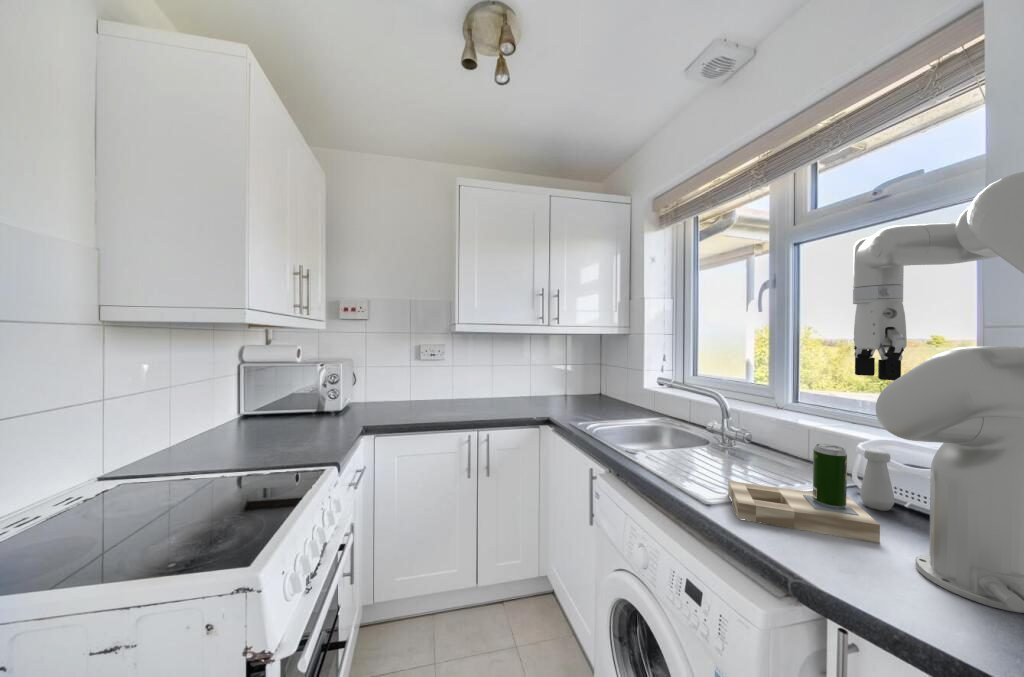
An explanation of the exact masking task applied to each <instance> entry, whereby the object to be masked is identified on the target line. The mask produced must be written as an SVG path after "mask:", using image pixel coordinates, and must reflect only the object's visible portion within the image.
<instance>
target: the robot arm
mask: <svg viewBox="0 0 1024 677" xmlns="http://www.w3.org/2000/svg"><path fill="white" fill-rule="evenodd" d="M852 252H853V259H852V260H853V261H852V262H853V263H852V264H853V266H852V268H853V272H852V281H853V282H852V305H856V306H855V307H856V308H855V315H854V325H853V326H854V327H853V328H854V329H853V344H854V346H853V347H854V348H853V349H854V354H853V355H854V375H855V376H864V377H866V376H868V377H869V376H871V377H872V376H875V372H876V371H875V370H876V369H875V367H876V364H875V363H876V361H875V360H876V358H875V357H873V356H874V354H875V352H876V351H877V352H878V354H879V356H880V359H877V360H878V361H877V362H878V364H877V365H878V369H877V375H878V376H877V378H878V379H879V380H880V381H892V382H891V383H889V384H887V386H885V388H883V389H882V391H881V392H880V394H879V395H878V397H877V398H876V399H877V400H876V401H875V402H876V403H875V416H876V418H877V421H878V423H879V424H880V425H881V426H882V428H883V429H885V430H886V431H887V432H889V433H890V434H891V435H893V436H895V437H898V438H900V439H903V440H907V441H914V442H924V443H942V444H941V445H940V447H939V448H938V449H937V450H936V452H935V454H934V456H933V459H932V461H931V464H930V481H929V482H930V485H929V486H930V488H929V489H930V490H929V492H930V495H929V496H930V498H929V553H925V554H920V555H918V556H916V558H915V567H916V569H917V571H918V572H920V574H921V575H922V576H924V577H925V578H926V579H928V580H929V581H931V582H932V583H934V584H936V585H938V586H940V587H941V588H943V589H945V590H947V591H949V592H951V593H952V594H953V593H954V594H955V595H958V596H961V597H962V598H966V599H968V600H970V601H974V602H976V603H979V604H981V605H982V604H983V605H985V606H988V607H992V608H995V609H999V610H1003V611H1008V612H1014V613H1018V614H1024V345H1007V346H1006V345H1004V346H1003V345H999V346H998V345H997V346H996V345H980V346H979V345H974V346H971V345H970V346H961V347H956V348H955V347H954V348H952V349H947V350H945V351H941V352H938V353H937V354H934V355H933V356H931V357H929V358H928V359H926V360H924V361H923V362H921V363H919V364H918V365H917V366H915V367H913V368H911V369H910V370H909V371H907V372H905V373H904V374H902V360H903V352H904V351H905V349H906V348H907V344H908V343H907V322H906V313H905V306H904V275H905V274H904V266H905V267H906V266H926V265H928V266H929V265H930V266H931V265H938V266H939V265H940V266H941V265H954V264H962V263H963V264H964V263H968V262H975V261H976V262H977V261H983V260H989V259H993V258H998V257H1000V258H1001V259H1002V260H1004V261H1005V262H1007V263H1009V264H1010V265H1011V266H1012V267H1014V268H1015V269H1016V270H1018V271H1019V272H1021V274H1023V275H1024V171H1020V172H1016V173H1012V174H1010V175H1007V176H1004V177H1002V178H999V179H997V180H996V181H994V182H992V183H990V184H989V185H987V187H985V188H984V189H983V190H982V191H980V192H979V193H978V194H977V195H976V196H975V197H974V199H973V200H972V202H971V204H970V206H968V207H967V208H966V209H965V210H963V212H962V213H961V214H960V215H959V217H958V219H957V221H956V222H950V223H949V222H948V223H947V222H945V223H921V224H919V223H918V224H903V225H901V224H899V225H892V226H891V225H890V226H888V227H884V228H882V229H880V230H879V231H877V232H876V233H874V234H873V235H871V236H869V237H868V236H867V237H864V238H861V239H859V240H857V241H855V244H854V246H853V251H852Z"/></svg>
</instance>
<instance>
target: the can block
mask: <svg viewBox="0 0 1024 677" xmlns="http://www.w3.org/2000/svg"><path fill="white" fill-rule="evenodd" d="M727 486H728V488H727V492H728V494H727V495H729V496H730V497H731V499H732V503H731V505H732V508H733V507H734V508H733V510H734V509H735V510H734V513H735V512H736V513H735V515H736V514H737V515H736V517H738V518H739V519H745V520H750V521H749V522H751V521H755V522H754V523H757V522H761V523H760V524H763V523H766V524H765V525H769V524H771V525H770V526H776V527H782V528H787V529H792V530H800V531H806V532H810V533H817V534H822V535H824V534H825V535H829V536H834V537H835V536H836V537H841V538H847V539H853V540H858V541H864V542H870V543H877V544H880V543H881V524H880V523H878V521H877V520H876V519H874V518H873V517H872V516H870V514H869V513H867V511H865V510H864V509H863V508H861V507H860V506H859V505H858V504H857V503H856V502H855V501H854V500H852V499H851V498H850V497H848V496H846V506H845V508H844V509H831V508H827V507H824V506H821V505H819V504H817V503H816V502H815V501H814V499H813V491H805V490H798V489H793V488H792V489H791V488H784V487H777V486H770V485H762V484H754V483H749V482H748V483H747V482H746V483H745V482H740V481H733V480H732V481H731V480H728V484H727ZM729 496H728V497H729ZM738 518H737V519H738ZM739 519H738V520H739ZM745 520H744V521H745Z"/></svg>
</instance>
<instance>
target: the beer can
mask: <svg viewBox="0 0 1024 677" xmlns="http://www.w3.org/2000/svg"><path fill="white" fill-rule="evenodd" d="M812 449H813V454H812V459H813V462H812V492H813V499H814V501H815V502H816V503H817V504H819V505H821V506H824V507H827V508H831V509H844V508H845V506H846V497H847V491H848V489H847V486H848V484H847V481H848V480H847V479H848V474H847V473H848V453H847V452H846V448H844V447H843V446H839V445H834V444H829V443H815V444H814V447H813V448H812Z"/></svg>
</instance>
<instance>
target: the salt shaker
mask: <svg viewBox="0 0 1024 677" xmlns="http://www.w3.org/2000/svg"><path fill="white" fill-rule="evenodd" d="M863 452H864V453H863V456H864V458H865V459H866V460H867V462H866V465H865V468H864V469H865V470H864V474H863V478H862V483H861V486H860V489H859V496H860V499H861V501H862V502H863V505H864V506H867V507H868V508H870V509H873V510H877V511H881V512H885V511H887V512H888V511H890V510H891V509H892V508H893V506H894V505H895V503H896V498H895V495H894V491H893V486H892V483H891V476H890V472H889V468H888V463H890V462H891V454H890V453H889V452H888V451H886V450H882V449H878V448H867V449H865V450H864V451H863Z"/></svg>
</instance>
